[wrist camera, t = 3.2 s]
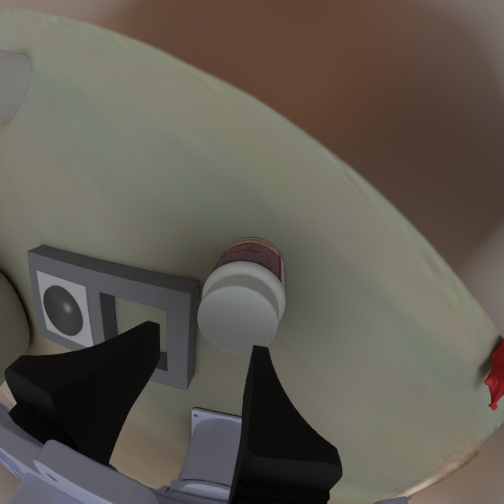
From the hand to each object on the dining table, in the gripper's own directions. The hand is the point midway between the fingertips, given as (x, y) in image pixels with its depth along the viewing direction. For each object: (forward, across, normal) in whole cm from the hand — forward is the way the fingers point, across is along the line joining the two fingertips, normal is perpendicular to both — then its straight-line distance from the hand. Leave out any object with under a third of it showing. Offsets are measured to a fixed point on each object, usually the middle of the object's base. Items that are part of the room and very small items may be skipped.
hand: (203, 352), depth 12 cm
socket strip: (+10, +12, +6) cm, 17 cm away
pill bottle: (+10, -1, -1) cm, 10 cm away
